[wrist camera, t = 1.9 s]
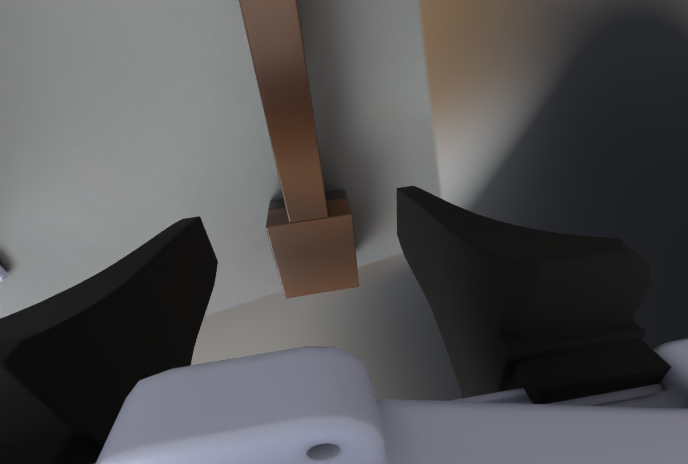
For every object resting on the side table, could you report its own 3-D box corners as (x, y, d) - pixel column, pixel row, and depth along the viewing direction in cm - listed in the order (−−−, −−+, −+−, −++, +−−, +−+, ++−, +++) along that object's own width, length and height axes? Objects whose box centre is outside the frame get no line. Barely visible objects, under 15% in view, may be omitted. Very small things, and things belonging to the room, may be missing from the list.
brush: (352, 256, 22) (359, 287, 19) (286, 266, 21) (285, 299, 19) (318, -51, 13) (324, -69, 11) (209, -39, 13) (187, -55, 10)
